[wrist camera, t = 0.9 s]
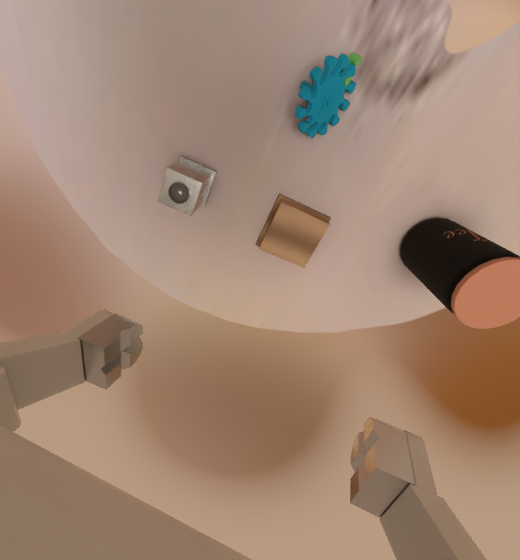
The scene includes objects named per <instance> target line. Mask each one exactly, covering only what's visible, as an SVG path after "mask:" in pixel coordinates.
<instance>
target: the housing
mask: <svg viewBox="0 0 520 560" xmlns="http://www.w3.org/2000/svg"><path fill="white" fill-rule="evenodd" d="M216 173H217V171H215V170H212V169H210V168H208V167H206V166H204V165H202V164H199V163H197V162H195V161H193V160H191V159H188V158H186V157H184V156H180V159H179V162H178V163H176V164H174V165H171V166H169V167H167V169H166V173H165V177H164V181H163V184H162V188H161V192H160V196H159V200H158V202H160V203H162V204H165V205H167V206H169V207H172V208H174V209H177V210H179V211H181V212H184V213H186V214H188V215H191V216H192V215H193V213H194V212H195V211H196V210H197V208H198V207H199V206H200V205H203V206H205V204H206V201H207V199H208V196H209V193H210V190H211V187H212V184H213V181H214V178H215V175H216Z"/></svg>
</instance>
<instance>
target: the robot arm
mask: <svg viewBox="0 0 520 560" xmlns="http://www.w3.org/2000/svg"><path fill="white" fill-rule="evenodd" d="M142 333H143V328H142V325H141V324H139V323H137V322H134V321H132V320H130V319H127V318H125V317H123V316H121V315H118V314H115V313H113V312H111V311H108V310H106V309H104V310H100V311H98V312H97V313H95V314H94V315H92V316H90V317H88V318H87V319H85V320H84V321H82V322H80V323H78V324H77V325H75V326H74V327H72V328H70V329H69V330H67V331H65V332H64V333H63V332H60V331H58V332H54V333H48V334H43V335H38V336H34V337H29V338H24V339H19V340H14V341H9V342H4V343H0V560H251V559H249V558H248V557H246V556H244V555H242V554H240V553H238V552H236V551H235V550H233V549H231V548H229V547H227V546H225V545H223V544H222V543H220V542H218V541H216V540H214V539H212V538H210V537H208V536H206V535H205V534H203V533H201V532H199V531H197V530H195V529H194V528H191V527H190V526H188V525H186V524H184V523H182V522H180V521H179V520H177V519H175V518H173V517H171V516H169V515H167V514H166V513H164V512H162V511H160V510H158V509H156V508H154V507H152V506H150V505H149V504H147V503H145V502H143V501H141V500H139V499H137V498H136V497H134V496H132V495H130V494H128V493H126V492H124V491H122V490H121V489H119V488H117V487H115V486H113V485H111V484H109V483H108V482H105V481H104V480H102V479H100V478H98V477H96V476H94V475H92V474H91V473H89V472H87V471H85V470H83V469H81V468H79V467H77V466H76V465H74V464H72V463H70V462H68V461H66V460H64V459H62V458H61V457H59V456H57V455H55V454H53V453H51V452H50V451H48V450H46V449H44V448H42V447H40V446H38V445H36V444H35V443H33V442H31V441H29V440H27V439H25V438H23V437H21V436H19V435H18V434H16V433H14V431H15V430H16V429H18V428H19V427H20V424H21V420H20V417H19V414H18V409H21V408H23V407H26V406H28V405H31V404H33V403H35V402H38V401H40V400H42V399H45V398H47V397H49V396H52V395H54V394H57V393H59V392H62V391H64V390H67V389H69V388H71V387H74V386H76V385H79V384H81V383H83V382H85V381H88V382H90V383H92V384H95V385H97V386H99V387H101V388H104V389H107V388H108V387H110V386H111V385H112V384H113V383H114V382H115V381H116V380H117V379H118V378H119V377H120V376H121V373H122V370H123V369H126V368H129V367H131V366H132V365H133V364H134V363H135V362H136V361H137V359H138V357H139V356H140V354H141V351H142V345H143V343H142V341H141V339H140V338H139V336H140V335H141V334H142ZM351 465H352V467H353V469H354V471H355V473H354V474H353V476H352V478H351V484H350V488H351V490H350V503H352V504H353V505H355V506H358V507H359V508H361V509H363V510H366V511H368V512H370V513H372V514H374V515H376V516H378V517H380V522H381V524H382V526H383V529H384V531H385V533H386V536H387V538H388V540H389V543H390V545H391V547H392V549H393V552H394V554H395V557H396V559H397V560H486V558H485V557H484V555H483V554H482V553H481V551H480V550H479V548H478V547H477V545H476V544H475V543H474V541H473V540H472V538H471V537H470V536H469V534H468V533H467V532H466V530H465V529H464V527H463V526H462V525H461V523H460V521H459V520H458V519H457V517H456V516H455V515H454V513H453V512H452V510H451V509H450V507H449V506H448V505H447V503H446V502H445V500H444V499H443V498H441V497H439V496H437V492H436V488H435V484H434V480H433V476H432V472H431V468H430V464H429V460H428V455H427V451H426V447H425V443H424V440H423V439H422V437H420V436H418V435H415V434H412V433H410V432H407V431H405V430H402V429H400V428H397V427H395V426H392V425H390V424H387V423H385V422H382V421H379V420H377V419H374V418H372V417H369V418H368V419H367V420H366V422H365V423H364V431H363V432H360V433H358V435H357V437H356V439H355V441H354V444H353V447H352V454H351Z"/></svg>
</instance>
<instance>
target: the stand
mask: <svg viewBox="0 0 520 560" xmlns="http://www.w3.org/2000/svg"><path fill="white" fill-rule="evenodd" d="M330 219H331V218H330V217H328V216H326V215H324V214H322V213H319V212H317V211H315V210H313V209H311V208H309V207H307V206H304V205H302V204H300V203H298V202H296V201H294V200H292V199H289V198H287V197H285V196H283V195H281V194H279V196H278V198H277V200H276V202H275V204H274V207H273V209H272V211H271V213H270V215H269V217H268V219H267V221H266V224H265V226H264V228H263V230H262V232H261V234H260V236H259V239H258V241H257V243H256V245H257V246H259V249H261V250H263V251H266V252H268V253H270V254H273V255H275V256H278V257H280V258H282V259H285V260H287V261H289V262H292V263H294V264H297V265H299V266H301V267H305V265H306V264H307V262H308V260H309V259H310V257H311V255H312V253H313V252H314V250H315V248H316V247H317V245H318V243H319V242H320V240H321V238H322V236H323V235H324V233H325V231H326V230H327V228H328V226H329V221H330Z"/></svg>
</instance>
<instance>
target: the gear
mask: <svg viewBox="0 0 520 560" xmlns="http://www.w3.org/2000/svg"><path fill="white" fill-rule="evenodd" d="M361 59H362V57H361V56H359V55H357V54H355V53H351V54H350V55H349V58H348V57H347V56H346V55H344V54H341V55H340V56H339V58H338V59H337V58H335V57H333V56H326V58H325V62H324V64H325V66H324V72H323V75H322V69H321V68H319V67H315V68H314V69H313V70H312V71H311V72H310V78H311V79H312V81H313V86H312V85H310V84H309V83H307V82H305V81H303V82H302V83H301V85H300V88H301V91H300V93H299V97H300V98H302V99H303V100H307V101H308V107H307V108H306V109H304V108H303V107H301V106H298V107H297V109H296V113H295V116H296V117H297V118H299V119H302V118H304V117H305V116H309V118H308V120H307V121H301V122H299V124H298V128H299V131H301V132H302V133H305V132H306V134H307V135H308V136H310V137H311V138H314V136H315V135H316V132H317V133H319V134H320V135H324V134H326V132H327V126H328V122H329V124H331V125H332V126H334V125H336V124H337V123H338V122H339V117H338V114H337V112H338V107H339V108H340V109H341V110H343V111H345V110H346V109H347V108H348V106H349V104H350V102H349V101H348V100H346V99H344V98H343V94H344V92H345V90H346V91H347V92H349V93H353V91H354V89H355V86H356V83H355V82H353V81H351V77H353V76H354V75H355V71H356V67H355V65H356V66H358V65H359V64H360V62H361ZM321 76H322V77H321ZM313 123H314V124H313ZM312 124H313V126H311V125H312ZM310 126H311V127H310ZM309 127H310V128H309Z"/></svg>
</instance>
